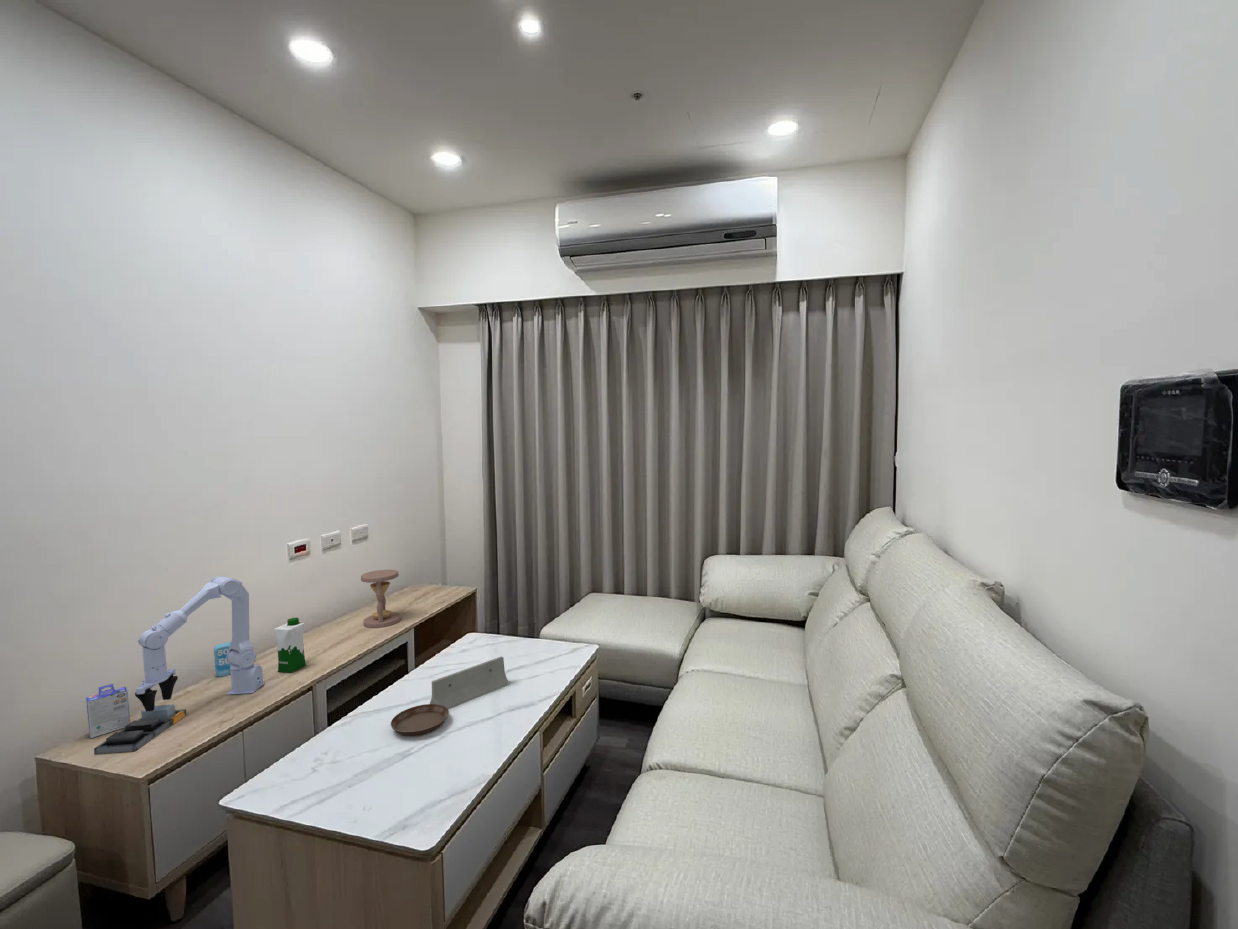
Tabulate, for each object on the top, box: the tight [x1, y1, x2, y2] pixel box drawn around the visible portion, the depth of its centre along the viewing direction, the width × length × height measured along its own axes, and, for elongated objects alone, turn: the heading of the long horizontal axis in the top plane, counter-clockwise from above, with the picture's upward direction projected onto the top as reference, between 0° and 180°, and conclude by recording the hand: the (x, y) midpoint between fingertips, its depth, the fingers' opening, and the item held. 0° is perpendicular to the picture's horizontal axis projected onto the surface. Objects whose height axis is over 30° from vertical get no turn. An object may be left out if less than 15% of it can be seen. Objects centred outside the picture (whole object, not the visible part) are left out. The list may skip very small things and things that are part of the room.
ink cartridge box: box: [85, 683, 131, 739], centre depth 178 cm, size 10×6×14 cm, turn 138°
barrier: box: [429, 656, 510, 710], centre depth 195 cm, size 28×7×10 cm, turn 134°
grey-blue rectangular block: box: [140, 703, 176, 721], centre depth 183 cm, size 8×4×5 cm, turn 95°
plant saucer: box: [390, 703, 450, 738], centre depth 175 cm, size 18×18×3 cm
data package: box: [213, 641, 232, 678], centre depth 222 cm, size 12×4×12 cm, turn 131°
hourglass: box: [360, 569, 402, 629], centre depth 276 cm, size 18×18×25 cm
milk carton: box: [273, 617, 307, 674], centre depth 222 cm, size 9×9×20 cm
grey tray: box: [93, 709, 187, 755], centre depth 176 cm, size 12×22×4 cm, turn 5°
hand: (158, 705), depth 183 cm, fingers open, 7 cm apart
